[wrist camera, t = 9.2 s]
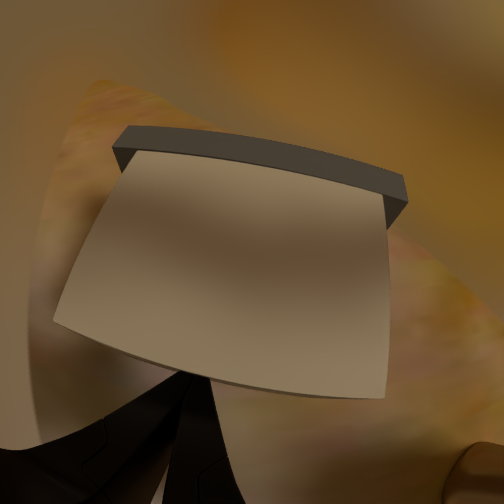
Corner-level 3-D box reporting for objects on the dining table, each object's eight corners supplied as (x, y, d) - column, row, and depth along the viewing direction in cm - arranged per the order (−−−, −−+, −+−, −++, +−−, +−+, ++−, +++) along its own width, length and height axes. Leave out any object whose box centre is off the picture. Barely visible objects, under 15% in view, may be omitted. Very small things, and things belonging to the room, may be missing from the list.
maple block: (308, 397, 13) (384, 398, 6) (136, 359, 13) (52, 320, 6) (323, 280, 16) (382, 194, 9) (171, 249, 17) (137, 150, 10)
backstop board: (341, 283, 16) (408, 202, 9) (152, 243, 17) (111, 146, 10) (343, 262, 17) (402, 175, 10) (160, 224, 17) (128, 125, 10)
